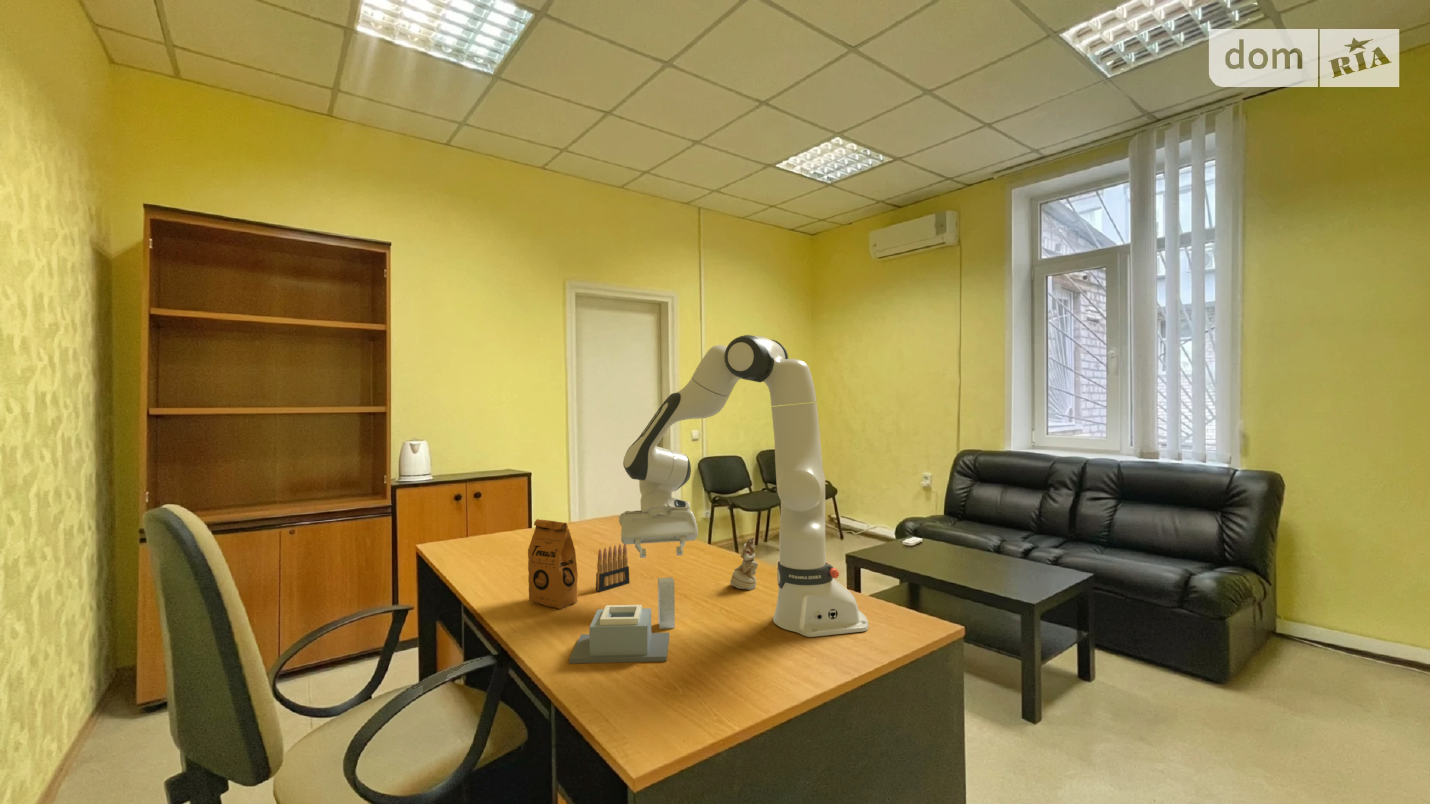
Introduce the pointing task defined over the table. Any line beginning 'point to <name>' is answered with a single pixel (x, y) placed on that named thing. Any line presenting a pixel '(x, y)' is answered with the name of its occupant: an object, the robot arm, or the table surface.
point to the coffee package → (552, 565)
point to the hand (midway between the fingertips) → (661, 555)
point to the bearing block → (621, 641)
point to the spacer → (621, 620)
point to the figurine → (746, 568)
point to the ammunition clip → (612, 569)
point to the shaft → (666, 603)
